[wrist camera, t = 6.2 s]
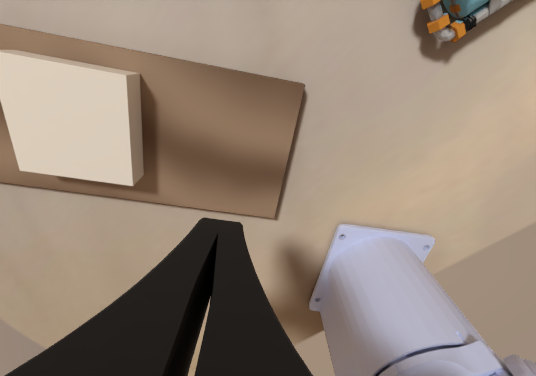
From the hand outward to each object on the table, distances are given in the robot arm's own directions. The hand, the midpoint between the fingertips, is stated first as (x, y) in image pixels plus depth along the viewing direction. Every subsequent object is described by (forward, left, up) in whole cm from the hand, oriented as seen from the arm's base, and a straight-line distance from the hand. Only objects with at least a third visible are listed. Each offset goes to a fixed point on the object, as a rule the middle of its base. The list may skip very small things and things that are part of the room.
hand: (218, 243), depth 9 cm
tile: (+1, +6, -7) cm, 9 cm away
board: (0, +7, -9) cm, 11 cm away
